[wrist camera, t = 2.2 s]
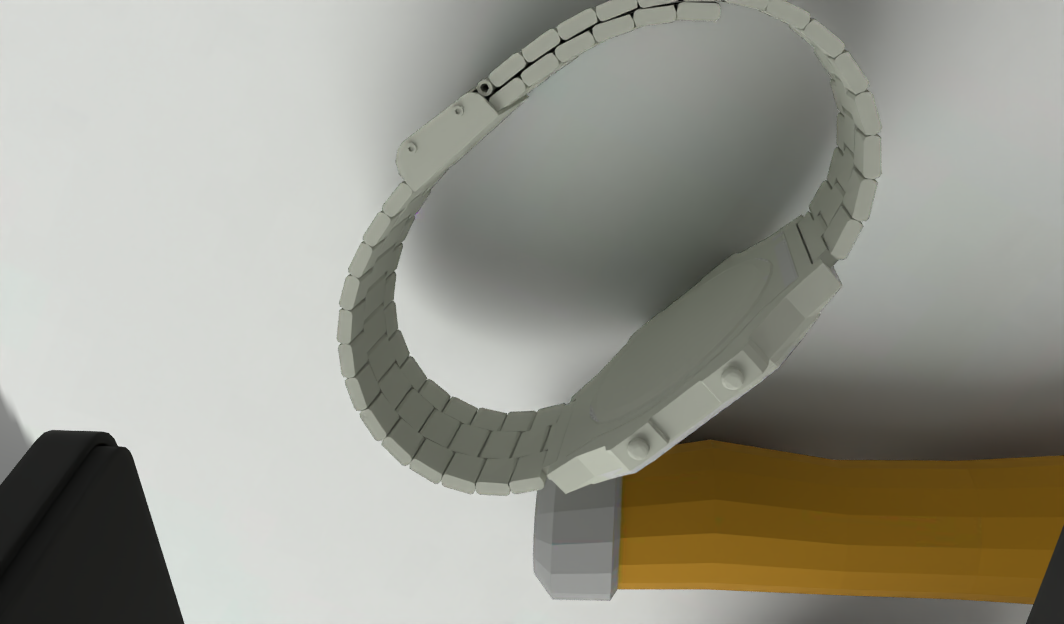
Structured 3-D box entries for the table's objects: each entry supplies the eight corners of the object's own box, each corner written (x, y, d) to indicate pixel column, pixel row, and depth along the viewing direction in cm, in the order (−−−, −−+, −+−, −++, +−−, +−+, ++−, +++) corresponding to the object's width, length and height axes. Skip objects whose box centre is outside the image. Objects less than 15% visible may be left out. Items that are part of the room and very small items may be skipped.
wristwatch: (531, 431, 19) (509, 634, 15) (286, 228, 17) (181, 398, 13) (930, 143, 15) (1052, 306, 11) (680, -167, 13) (715, -107, 9)
